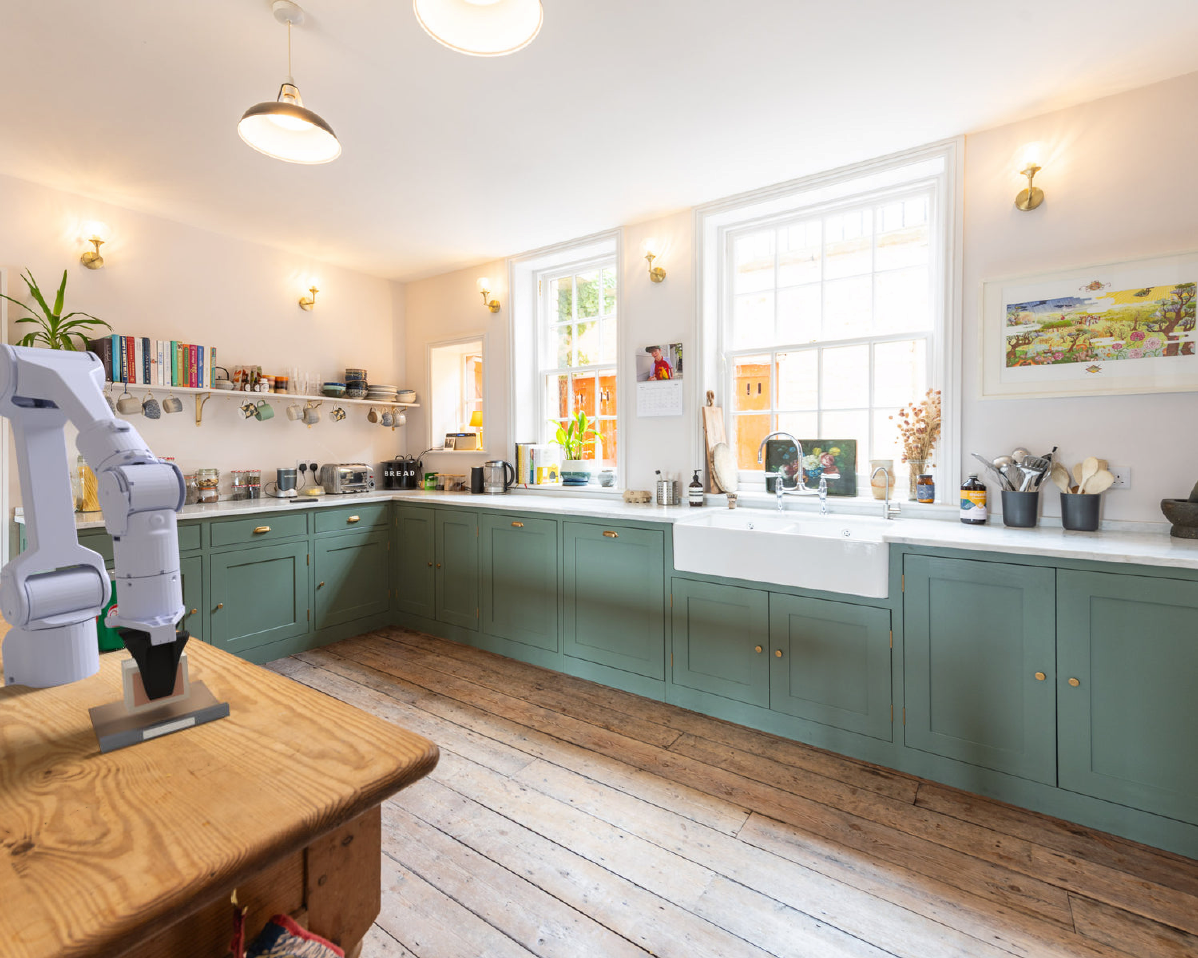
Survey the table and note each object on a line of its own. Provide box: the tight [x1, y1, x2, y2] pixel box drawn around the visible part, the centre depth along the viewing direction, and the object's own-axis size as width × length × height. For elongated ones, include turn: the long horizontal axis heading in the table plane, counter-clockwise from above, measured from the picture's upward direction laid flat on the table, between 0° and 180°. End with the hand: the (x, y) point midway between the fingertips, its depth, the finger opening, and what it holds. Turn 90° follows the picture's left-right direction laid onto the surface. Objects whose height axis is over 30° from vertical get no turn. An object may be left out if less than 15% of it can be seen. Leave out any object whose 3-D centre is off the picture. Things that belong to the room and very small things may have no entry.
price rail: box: [99, 701, 231, 754], centre depth 62 cm, size 11×1×1 cm, turn 135°
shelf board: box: [88, 679, 231, 754], centre depth 67 cm, size 11×14×2 cm
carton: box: [120, 650, 190, 714], centre depth 66 cm, size 6×4×5 cm
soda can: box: [96, 568, 125, 652], centre depth 93 cm, size 5×5×12 cm
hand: (157, 691), depth 67 cm, fingers closed on carton, 4 cm apart
